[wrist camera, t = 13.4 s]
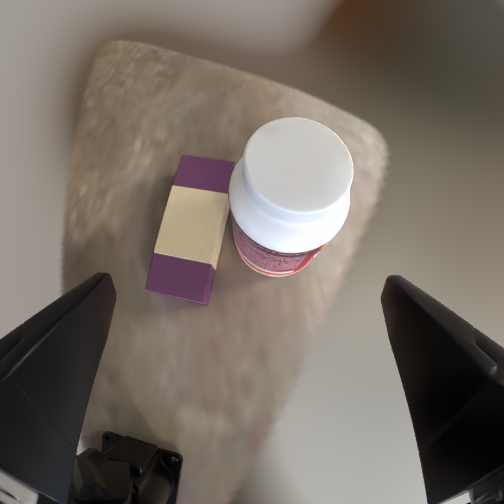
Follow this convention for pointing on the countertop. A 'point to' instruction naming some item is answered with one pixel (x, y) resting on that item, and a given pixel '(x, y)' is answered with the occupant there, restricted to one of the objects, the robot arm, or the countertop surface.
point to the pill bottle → (289, 194)
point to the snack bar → (192, 230)
